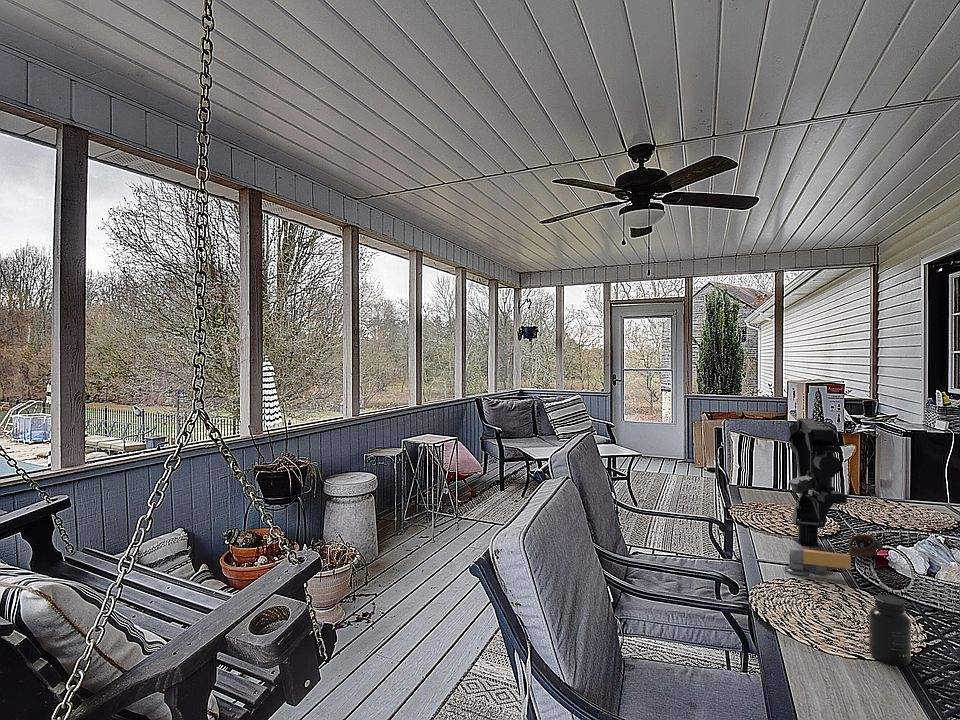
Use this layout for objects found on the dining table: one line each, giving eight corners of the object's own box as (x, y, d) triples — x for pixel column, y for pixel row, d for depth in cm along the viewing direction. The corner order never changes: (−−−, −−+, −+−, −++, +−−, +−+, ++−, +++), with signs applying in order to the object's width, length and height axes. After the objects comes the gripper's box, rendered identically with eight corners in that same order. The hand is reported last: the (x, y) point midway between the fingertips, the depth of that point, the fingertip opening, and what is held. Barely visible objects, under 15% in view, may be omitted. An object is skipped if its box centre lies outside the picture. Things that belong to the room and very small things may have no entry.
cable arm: (790, 562, 155) (790, 550, 155) (788, 558, 159) (788, 546, 159) (851, 570, 150) (851, 557, 150) (848, 565, 153) (848, 553, 153)
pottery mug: (897, 566, 161) (886, 543, 160) (864, 577, 163) (853, 554, 162) (874, 544, 172) (864, 522, 171) (844, 555, 175) (834, 533, 174)
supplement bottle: (860, 649, 114) (860, 592, 114) (890, 648, 115) (891, 591, 115) (887, 668, 107) (887, 607, 107) (919, 666, 108) (920, 606, 108)
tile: (792, 565, 161) (792, 556, 161) (802, 562, 163) (802, 554, 163) (816, 573, 155) (816, 564, 155) (826, 570, 157) (826, 561, 157)
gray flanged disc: (781, 567, 160) (781, 558, 160) (802, 568, 159) (802, 559, 159) (790, 575, 154) (790, 565, 154) (812, 576, 153) (812, 566, 153)
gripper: (780, 462, 177) (780, 510, 177) (807, 474, 159) (806, 527, 159) (816, 463, 176) (816, 511, 176) (848, 475, 157) (848, 529, 157)
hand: (820, 519), depth 167 cm, fingers closed
